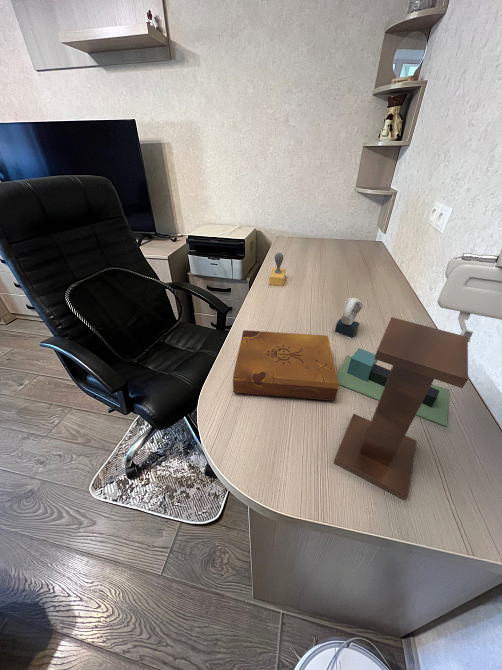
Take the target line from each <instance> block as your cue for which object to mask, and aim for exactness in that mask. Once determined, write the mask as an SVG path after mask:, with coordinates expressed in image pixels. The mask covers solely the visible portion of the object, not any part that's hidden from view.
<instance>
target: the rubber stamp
mask: <svg viewBox="0 0 502 670" xmlns="http://www.w3.org/2000/svg"><path fill="white" fill-rule="evenodd" d="M283 261H284V255H283V253H282V252H277V253H276V254H275V255H274V262H275V265H276V267H272V268H271V271H270V275H269V285H270V286H279V287H283V286H285V279H286V270H287V269H286V268H281V266H282V264H283Z"/></svg>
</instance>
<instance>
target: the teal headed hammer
mask: <svg viewBox="0 0 502 670" xmlns="http://www.w3.org/2000/svg"><path fill="white" fill-rule="evenodd" d="M375 355H376V353H374V352H370V351H367V350H365V349H363V348H360V347H359V348H357V349H356V351H355V352H354V353H353V355H352V356H351V360H350V364H349V368H348V371H347V373H348V374H351V375H353V376H355V377H357V378H360V379H362V380H364V381H366V382H367V380H371V381H373V382H375V383H377V384H380V385H382V386H384V387H385V384H386V381H387V379H388V376H389V374H390V371H391V369H389V370H388V368H386V367H383V366H381V365H379V364H377V363H378V360H375V359H374V358H375ZM438 394H439V390H437V389H435V388H432V387H430V388H429V390H428V392H427V394H426V396H425V398H424V400H423V402H422V404H424V405H427V406H429V407H431V408H432V406H433V404H434V403H435V401H436V399H437V396H438Z"/></svg>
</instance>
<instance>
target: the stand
mask: <svg viewBox="0 0 502 670" xmlns="http://www.w3.org/2000/svg"><path fill="white" fill-rule="evenodd" d="M375 354H376V355H375V358H374V359H375V360H377V362H378V361H379V362H382V363H384V364H388V365H391V369H390V370H391V371H390V374H389V376H388V379H387V381H386V384H385V387H384V389H383V392H382V394H381V397H380V400H379V401H378V403H377V405H376V408H375V410H374V413H373V415H372V418H371V420H370V419H367V418H365V417H362V416H360V415H358V414H355V413H353V414H352V416H351V419H350V421H349V423H348V426H347V429H346V431H345V433H344V436H343V437H342V440H341V443H340V445H339V448H338V450H337V453H336V455H335V457H334V460H333V464H335V465H337V466H338V467H340V468H342V469H343V470H346V471H348V472H350V473H352V474H353V475H355V476H358V477H359V478H361V479H363V480H365V481H367V482H368V483H371V484H372V485H375V486H377V487H378V488H380V489H382V490H384V491H386V492H387V493H389V494H392V495H394V496H395V497H398V498H399V499H401V500H403V501H405V500H406V499H407V497H408V495H409V489H410V484H411V479H412V471H413V464H414V459H415V453H416V447H417V442H418V441H417V440H416V439H414V438H412V437H410V436H408V435H406V434H407V432H408V430H409V429H410V427H411V425H412V423H413V420H415V418H416V413H417V411H418V410H419V408H420V406H421V404H422V402H423V400H424V398H425V396H426V394H427V392H428V390H429V388H430V386H431V384H433V383H434V380H436V381H438V382H442V383H445V384H448V385H451V386H453V387H457V388H459V389H463V388H464V387H465V386H466V384H467V382H468V381H469V342H468V337H466V336H462V335H460V334H458V333H454V332H450V331H446V330H443V329H439V328H435V327H432V326H427V325H424V324H419V323H416V322H411V321H408V320H405V319H400V318H397V317H393V316H391V317H390V319H389V322H388V324H387V327H386V329H385V331H384V332H383V336H382V338H381V340H380V343H379V345H378V347H377V349H376V352H375Z"/></svg>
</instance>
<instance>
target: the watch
mask: <svg viewBox="0 0 502 670" xmlns="http://www.w3.org/2000/svg"><path fill="white" fill-rule="evenodd" d="M344 303H345V306H344V309H343V312H342V315H341V318H340V319H339V320H338V321H337V322H336V324H335V329H334V332H335V333H337V334H340V335H344V336H346V337H349V338H351V339H353V338H354V336H355V335H356V334H357V332H358V330H359V327H360V322H358V321H355V320H356V318H357V315H358V314H359V313H360V312H361V310H363V308H364V302H363V301H362V300H360V299H359V298H357V297H349V298H347V299H346V300H345V301H344Z"/></svg>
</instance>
